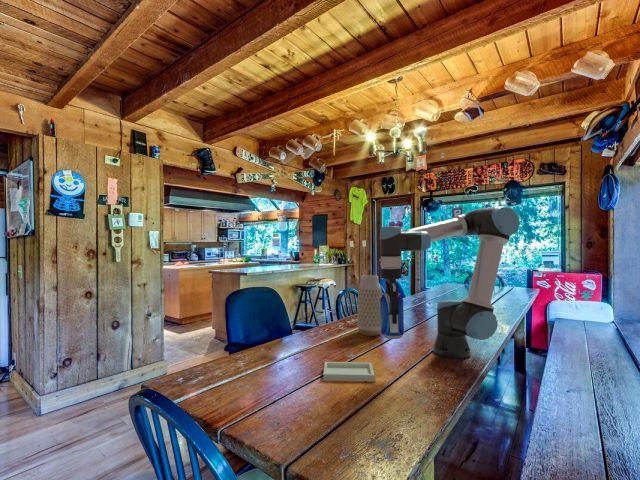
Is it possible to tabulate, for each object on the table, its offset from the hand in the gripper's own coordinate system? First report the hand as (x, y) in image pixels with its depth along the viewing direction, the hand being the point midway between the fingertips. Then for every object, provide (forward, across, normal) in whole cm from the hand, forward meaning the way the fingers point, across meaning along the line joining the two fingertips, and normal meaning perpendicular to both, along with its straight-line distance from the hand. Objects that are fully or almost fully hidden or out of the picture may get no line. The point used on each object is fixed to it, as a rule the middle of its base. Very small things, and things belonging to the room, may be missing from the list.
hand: (392, 328), depth 124 cm
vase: (+17, -54, -4) cm, 57 cm away
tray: (+16, +1, -17) cm, 23 cm away
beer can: (+3, 0, 0) cm, 3 cm away
